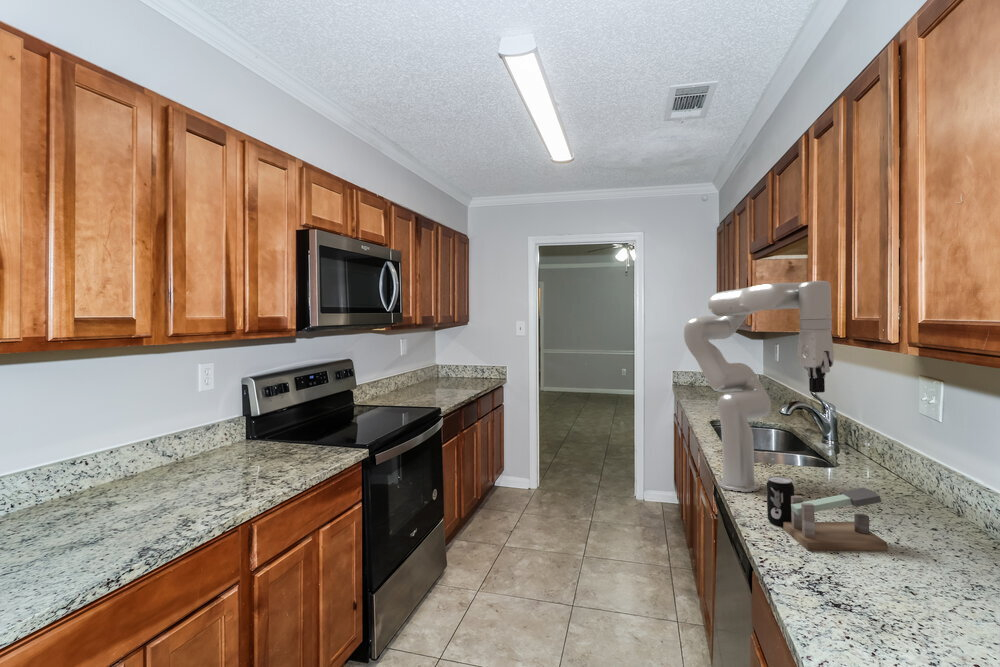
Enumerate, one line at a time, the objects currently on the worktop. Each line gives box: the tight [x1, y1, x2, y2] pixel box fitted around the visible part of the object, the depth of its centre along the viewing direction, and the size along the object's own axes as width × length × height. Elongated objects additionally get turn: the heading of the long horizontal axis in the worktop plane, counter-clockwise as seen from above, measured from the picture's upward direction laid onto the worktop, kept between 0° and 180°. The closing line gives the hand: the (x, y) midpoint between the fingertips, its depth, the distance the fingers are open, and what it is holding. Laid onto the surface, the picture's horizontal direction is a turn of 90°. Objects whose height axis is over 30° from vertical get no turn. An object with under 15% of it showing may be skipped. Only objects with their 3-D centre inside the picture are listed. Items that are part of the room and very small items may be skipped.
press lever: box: [791, 486, 882, 515], centre depth 123 cm, size 6×19×2 cm, turn 85°
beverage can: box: [766, 475, 795, 527], centre depth 134 cm, size 7×7×12 cm
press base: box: [782, 495, 888, 552], centre depth 123 cm, size 12×18×10 cm, turn 85°
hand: (817, 391), depth 136 cm, fingers closed
